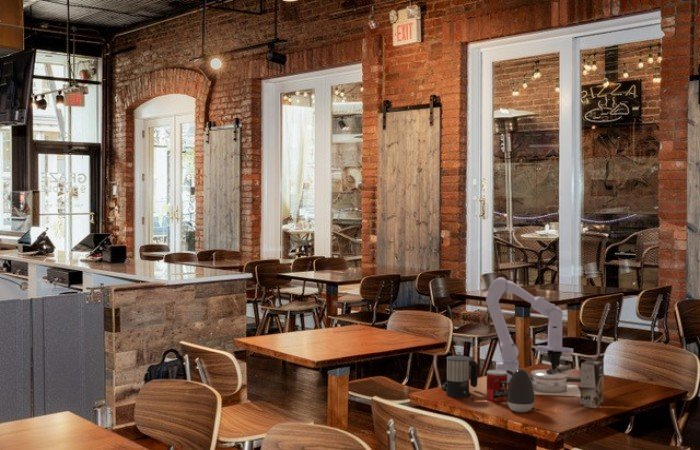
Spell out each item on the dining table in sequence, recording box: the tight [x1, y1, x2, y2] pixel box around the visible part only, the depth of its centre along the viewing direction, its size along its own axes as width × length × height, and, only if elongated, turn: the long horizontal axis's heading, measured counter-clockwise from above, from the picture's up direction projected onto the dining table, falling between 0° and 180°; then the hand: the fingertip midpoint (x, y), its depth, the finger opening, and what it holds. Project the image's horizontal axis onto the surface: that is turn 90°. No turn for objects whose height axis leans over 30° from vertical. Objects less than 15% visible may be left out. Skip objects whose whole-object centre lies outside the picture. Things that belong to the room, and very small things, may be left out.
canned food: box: [486, 369, 508, 404], centre depth 314 cm, size 8×8×11 cm
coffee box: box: [579, 359, 605, 409], centre depth 309 cm, size 9×6×16 cm
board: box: [534, 384, 581, 397], centre depth 330 cm, size 20×20×1 cm
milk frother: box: [441, 355, 479, 399], centre depth 326 cm, size 14×16×15 cm
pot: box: [529, 374, 581, 393], centre depth 329 cm, size 25×14×6 cm, turn 81°
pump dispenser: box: [505, 368, 536, 413], centre depth 299 cm, size 10×10×15 cm
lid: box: [530, 364, 572, 379], centre depth 333 cm, size 22×14×2 cm, turn 136°
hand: (554, 369), depth 338 cm, fingers closed
